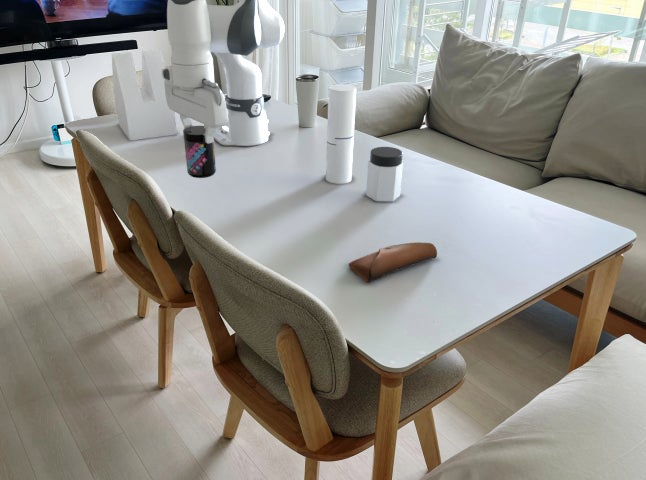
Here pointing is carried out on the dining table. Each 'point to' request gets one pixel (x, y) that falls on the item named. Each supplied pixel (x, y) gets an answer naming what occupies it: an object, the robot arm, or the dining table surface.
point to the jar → (384, 174)
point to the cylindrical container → (340, 133)
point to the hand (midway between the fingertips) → (198, 137)
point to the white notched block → (142, 96)
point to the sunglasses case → (392, 259)
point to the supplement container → (199, 153)
